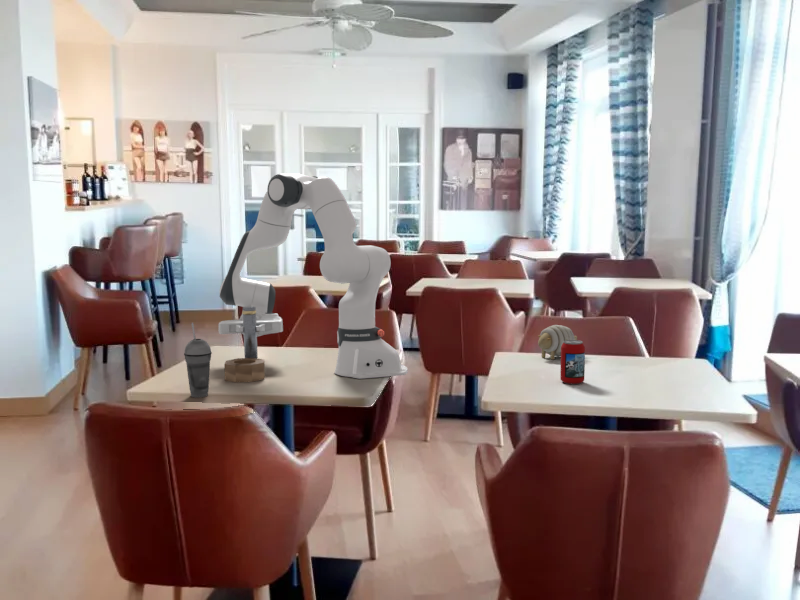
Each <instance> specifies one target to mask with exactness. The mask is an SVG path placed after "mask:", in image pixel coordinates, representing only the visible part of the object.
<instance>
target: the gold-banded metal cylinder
mask: <svg viewBox="0 0 800 600" xmlns="http://www.w3.org/2000/svg"><path fill="white" fill-rule="evenodd" d="M242 314H243V330H244V335H243V348H244V349H243V350H244V358H258V359H259V356H258V355H259V354H258V337H257V332H256V330H257V329H256V307H242V311H241V315H242Z"/></svg>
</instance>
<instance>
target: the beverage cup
mask: <svg viewBox="0 0 800 600" xmlns="http://www.w3.org/2000/svg"><path fill="white" fill-rule="evenodd" d="M190 324H191V329H192V330H191V331H192V335H193V339H192V340H190V341H189V342H188V343H187V344H186V346H185V347H184V352H183V356H184V360H185V364H186V371H187V378H188V386H189V392H190V396H191V397H192V398H205V397H207V396H209V389H210V387H209V385H210V367H211V366H210V365H211V360H212V359H211V358H212V354H213V353H212V349H211V346H210V344H209V343H208V342H207V341H206V340H204V339H202V338H196V332H195V326H194V322H191V323H190Z"/></svg>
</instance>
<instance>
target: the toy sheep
mask: <svg viewBox="0 0 800 600" xmlns="http://www.w3.org/2000/svg"><path fill="white" fill-rule="evenodd" d="M537 337H538V342H537V345H538V347H539V349H541V358H542V359H545V358H546V354H548V356H550V360H552V361H553V360H555V357H561V346H562V344H563V342H564V341H565V340H578V336H577V335H575V334H574V333H573V330H572V329H571V328H570V327H568V326H565V325H561V324H560V325H558V324H553V325H550V326H547V327H546V328H544V329H542V331H541V332H540V334H538V335H537Z"/></svg>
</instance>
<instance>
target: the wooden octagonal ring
mask: <svg viewBox="0 0 800 600" xmlns="http://www.w3.org/2000/svg"><path fill="white" fill-rule="evenodd" d="M265 365H266V364H265V359H264V358H263V359H262V358H259V357H258V358H245V357H244V358H243V357H241V358H240V357H237V358H234V359H228V360H225V362H224V381H225V382H230V383H231V382H232V383H254V382H258V381H262V380H265V377H266V375H265V374H266V371H265V370H266V369H265V367H266V366H265Z"/></svg>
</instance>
